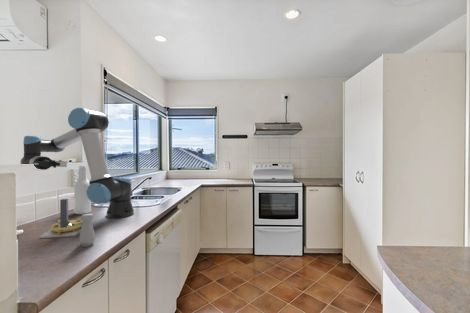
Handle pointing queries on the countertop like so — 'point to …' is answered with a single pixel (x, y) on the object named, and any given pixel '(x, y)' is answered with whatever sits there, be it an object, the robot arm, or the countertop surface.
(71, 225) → the grey and tan stand
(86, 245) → the salt shaker
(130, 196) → the robot arm
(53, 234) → the flange plate
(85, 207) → the alcohol
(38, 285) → the countertop surface
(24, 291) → the countertop surface
